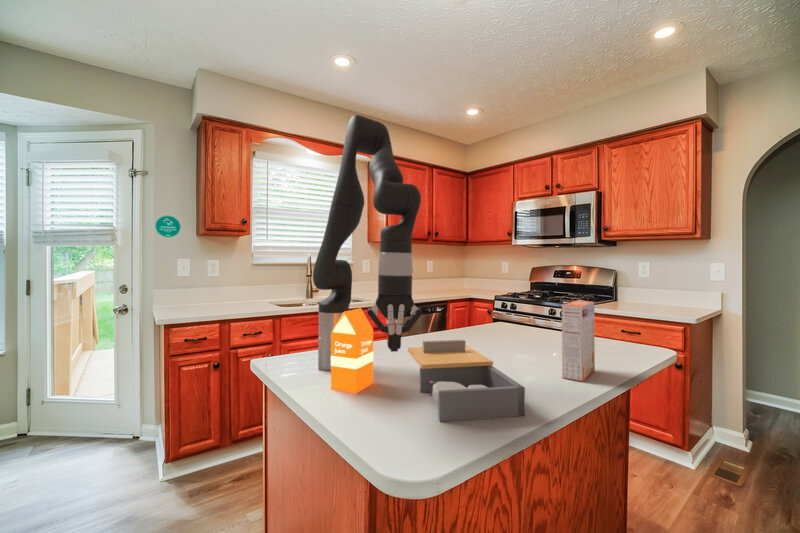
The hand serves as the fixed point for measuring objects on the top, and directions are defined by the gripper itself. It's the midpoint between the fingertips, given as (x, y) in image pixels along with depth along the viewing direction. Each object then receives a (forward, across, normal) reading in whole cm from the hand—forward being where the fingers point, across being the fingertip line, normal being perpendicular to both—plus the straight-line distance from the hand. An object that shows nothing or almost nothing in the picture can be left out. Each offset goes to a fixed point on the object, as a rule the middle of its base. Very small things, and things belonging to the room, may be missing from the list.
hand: (393, 350), depth 82 cm
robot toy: (+13, -16, +1) cm, 21 cm away
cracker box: (+12, -57, -15) cm, 60 cm away
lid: (+6, -17, -16) cm, 24 cm away
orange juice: (+13, +8, -16) cm, 22 cm away
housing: (+12, -17, 0) cm, 21 cm away
